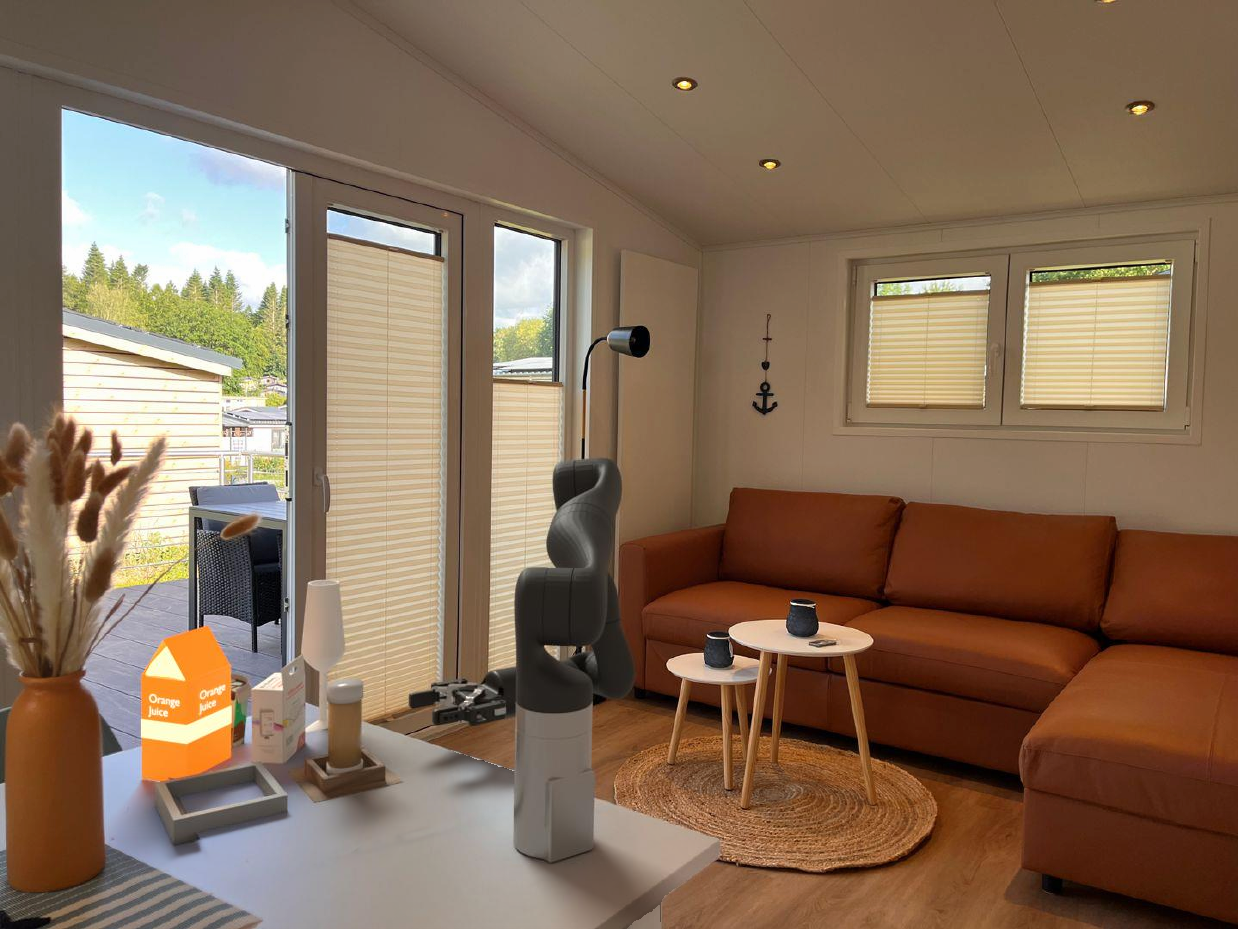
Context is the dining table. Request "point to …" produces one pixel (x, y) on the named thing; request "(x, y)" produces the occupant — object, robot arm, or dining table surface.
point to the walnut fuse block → (342, 778)
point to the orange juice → (185, 707)
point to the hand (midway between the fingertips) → (421, 709)
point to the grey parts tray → (188, 825)
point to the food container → (239, 707)
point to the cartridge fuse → (344, 725)
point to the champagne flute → (322, 637)
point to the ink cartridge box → (279, 714)
